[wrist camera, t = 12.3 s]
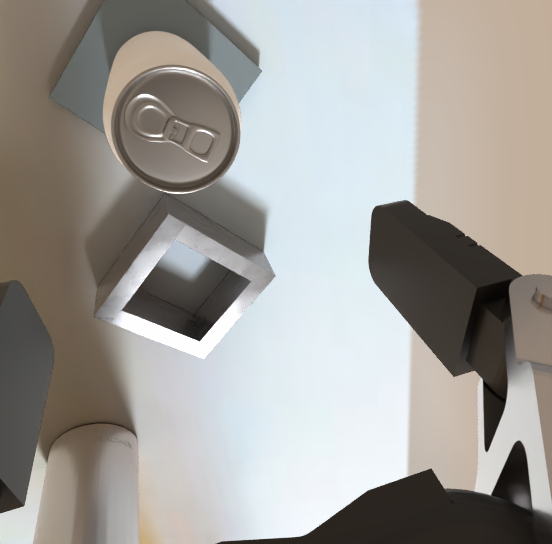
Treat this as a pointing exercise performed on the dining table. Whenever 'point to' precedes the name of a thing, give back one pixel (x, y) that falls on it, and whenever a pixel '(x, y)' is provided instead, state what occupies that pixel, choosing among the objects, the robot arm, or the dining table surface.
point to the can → (170, 114)
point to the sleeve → (164, 316)
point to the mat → (125, 25)
